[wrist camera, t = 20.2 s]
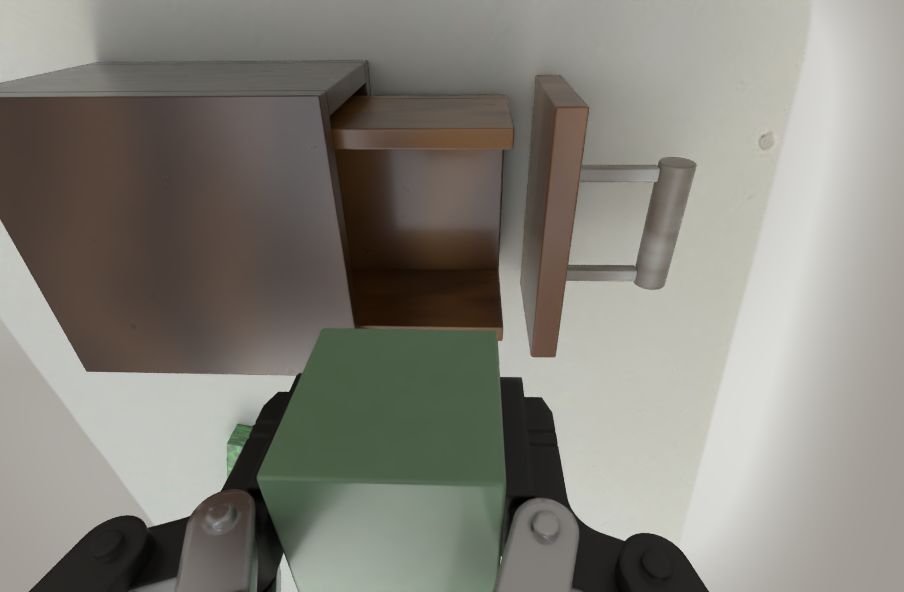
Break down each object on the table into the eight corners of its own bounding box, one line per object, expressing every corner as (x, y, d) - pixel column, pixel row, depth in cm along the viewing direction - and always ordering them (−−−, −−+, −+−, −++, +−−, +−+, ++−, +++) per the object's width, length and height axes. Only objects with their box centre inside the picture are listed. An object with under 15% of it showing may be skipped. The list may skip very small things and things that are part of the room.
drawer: (676, 74, 23) (744, 105, 17) (629, 284, 29) (667, 360, 23) (298, 76, 23) (241, 108, 18) (334, 281, 30) (299, 353, 24)
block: (321, 327, 12) (253, 478, 9) (497, 329, 12) (506, 484, 8) (344, 444, 15) (300, 602, 11) (491, 447, 15) (496, 609, 11)
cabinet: (367, 59, 24) (319, 95, 16) (389, 282, 31) (362, 377, 23) (95, 62, 24) (-70, 97, 17) (177, 279, 31) (86, 371, 24)
